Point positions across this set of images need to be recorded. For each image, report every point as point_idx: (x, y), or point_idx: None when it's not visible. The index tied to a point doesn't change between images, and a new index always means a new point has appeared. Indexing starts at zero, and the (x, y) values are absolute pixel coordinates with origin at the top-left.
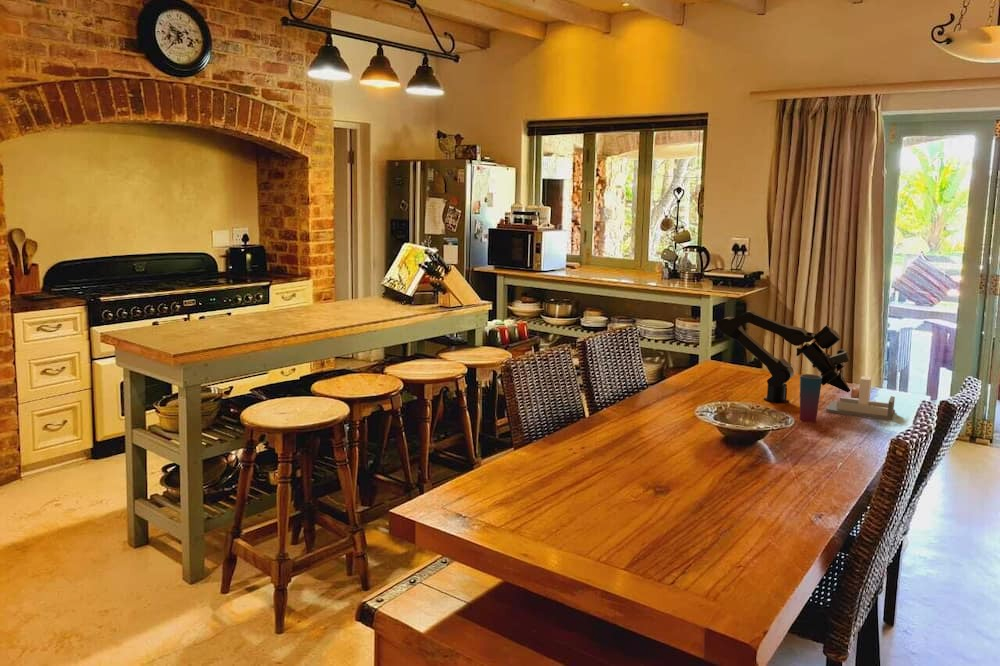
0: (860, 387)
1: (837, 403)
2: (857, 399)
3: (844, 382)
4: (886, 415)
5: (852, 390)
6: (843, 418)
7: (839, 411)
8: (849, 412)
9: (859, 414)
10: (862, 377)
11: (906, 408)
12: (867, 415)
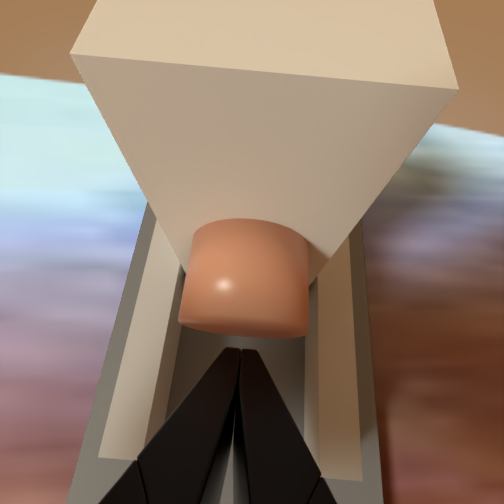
0: (369, 197)
1: (356, 470)
2: (152, 291)
3: (308, 488)
4: None
5: (301, 316)
6: (478, 386)
7: (375, 427)
8: (369, 350)
9: (363, 286)
10: (247, 51)
11: (64, 90)
12: (360, 243)
